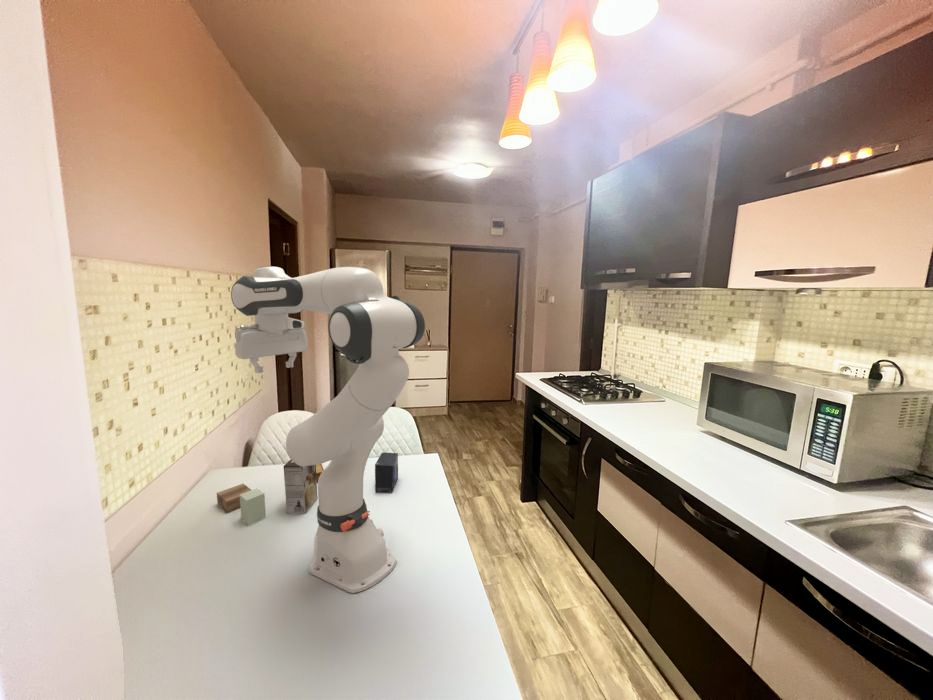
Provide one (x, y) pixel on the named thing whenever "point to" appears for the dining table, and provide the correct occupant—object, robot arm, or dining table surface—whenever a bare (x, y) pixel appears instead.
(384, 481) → the small box
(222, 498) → the base block
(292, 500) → the coffee box
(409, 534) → the dining table surface
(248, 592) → the dining table surface
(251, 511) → the sage block
